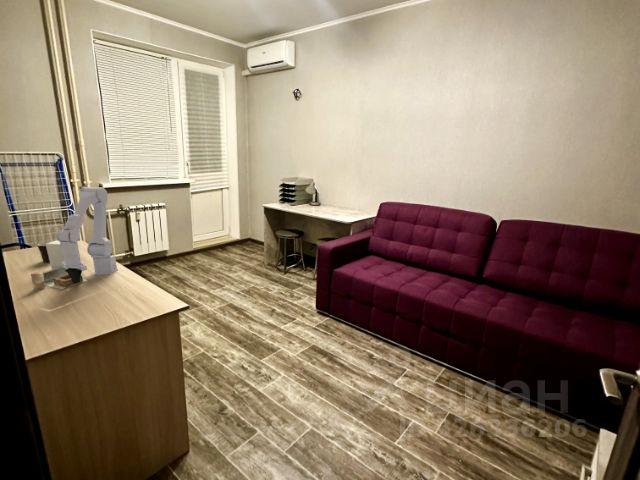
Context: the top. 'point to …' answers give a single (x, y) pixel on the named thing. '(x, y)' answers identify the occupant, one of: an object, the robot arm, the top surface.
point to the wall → (53, 274)
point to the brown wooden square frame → (65, 280)
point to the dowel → (38, 280)
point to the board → (57, 285)
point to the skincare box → (55, 254)
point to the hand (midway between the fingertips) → (76, 282)
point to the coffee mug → (44, 251)
